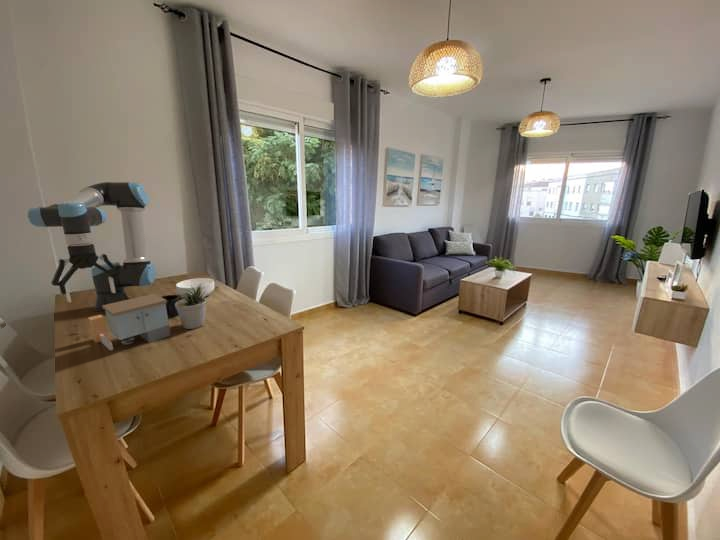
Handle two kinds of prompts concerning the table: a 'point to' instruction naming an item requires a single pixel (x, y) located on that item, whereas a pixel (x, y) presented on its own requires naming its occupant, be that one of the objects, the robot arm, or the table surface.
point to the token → (128, 341)
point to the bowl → (195, 286)
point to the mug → (171, 305)
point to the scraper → (99, 330)
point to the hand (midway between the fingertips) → (92, 296)
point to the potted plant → (192, 309)
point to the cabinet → (139, 318)
